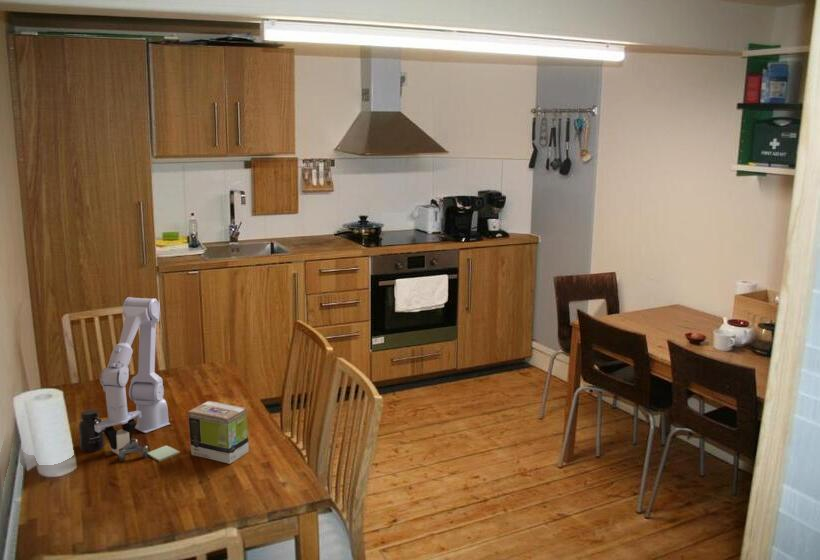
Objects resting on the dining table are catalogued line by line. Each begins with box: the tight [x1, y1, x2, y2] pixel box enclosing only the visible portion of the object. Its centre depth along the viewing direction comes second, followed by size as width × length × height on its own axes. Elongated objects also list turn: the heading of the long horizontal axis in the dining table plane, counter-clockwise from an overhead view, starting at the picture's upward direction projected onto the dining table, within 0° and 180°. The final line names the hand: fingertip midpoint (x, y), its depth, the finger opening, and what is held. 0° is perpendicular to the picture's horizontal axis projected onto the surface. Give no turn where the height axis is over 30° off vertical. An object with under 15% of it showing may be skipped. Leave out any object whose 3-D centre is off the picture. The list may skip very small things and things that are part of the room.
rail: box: [118, 438, 150, 462], centre depth 227 cm, size 8×8×4 cm
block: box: [111, 428, 130, 456], centre depth 231 cm, size 4×4×6 cm
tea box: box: [187, 400, 250, 465], centre depth 228 cm, size 15×10×15 cm
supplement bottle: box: [78, 408, 105, 453], centre depth 232 cm, size 7×7×12 cm
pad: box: [148, 445, 181, 462], centre depth 229 cm, size 7×7×1 cm
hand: (120, 445), depth 231 cm, fingers closed on block, 4 cm apart
